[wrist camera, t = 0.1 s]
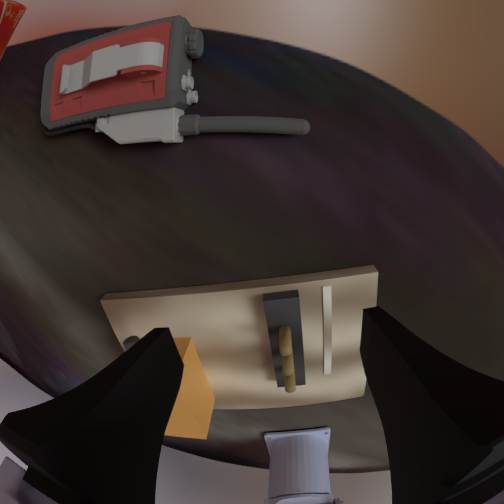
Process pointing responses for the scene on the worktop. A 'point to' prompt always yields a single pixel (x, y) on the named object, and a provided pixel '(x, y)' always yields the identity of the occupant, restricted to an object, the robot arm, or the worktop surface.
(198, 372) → the socket block
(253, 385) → the board
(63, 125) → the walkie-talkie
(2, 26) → the medicine box
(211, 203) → the worktop surface
